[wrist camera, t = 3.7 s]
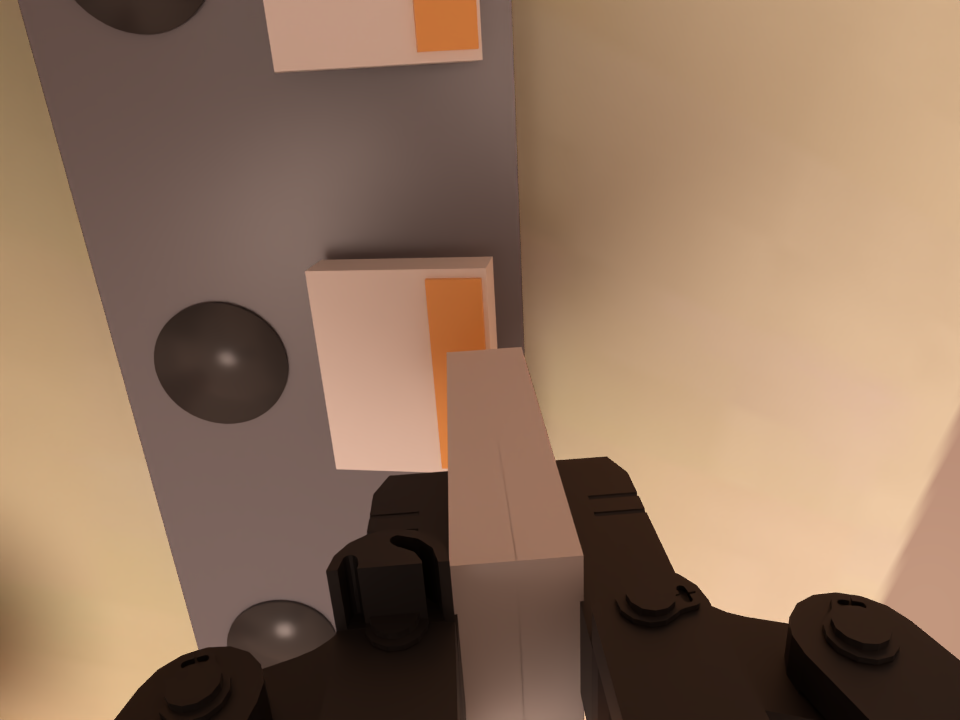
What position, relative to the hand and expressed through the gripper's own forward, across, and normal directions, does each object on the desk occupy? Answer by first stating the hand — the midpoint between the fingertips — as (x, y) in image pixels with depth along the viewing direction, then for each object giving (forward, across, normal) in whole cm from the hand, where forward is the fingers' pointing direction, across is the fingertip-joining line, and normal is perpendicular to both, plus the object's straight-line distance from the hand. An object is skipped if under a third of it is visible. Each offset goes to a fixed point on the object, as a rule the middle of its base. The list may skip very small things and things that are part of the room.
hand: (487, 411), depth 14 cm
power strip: (+7, -4, 0) cm, 8 cm away
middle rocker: (+2, -2, 0) cm, 3 cm away
